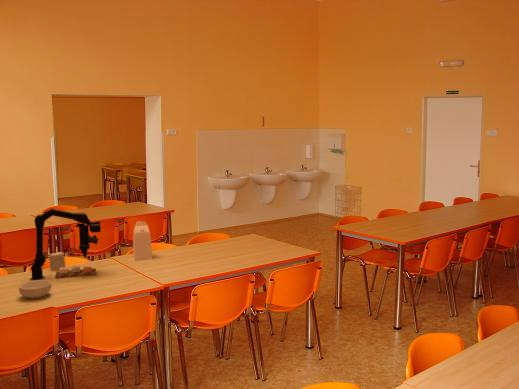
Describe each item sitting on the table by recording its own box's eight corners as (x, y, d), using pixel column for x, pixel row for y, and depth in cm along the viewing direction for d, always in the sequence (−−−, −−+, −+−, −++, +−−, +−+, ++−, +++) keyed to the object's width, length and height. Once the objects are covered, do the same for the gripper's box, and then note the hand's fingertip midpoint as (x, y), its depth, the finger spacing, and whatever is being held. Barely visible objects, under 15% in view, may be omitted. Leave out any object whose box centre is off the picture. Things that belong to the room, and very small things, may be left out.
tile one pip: (59, 273, 343) (59, 269, 343) (60, 271, 348) (59, 267, 347) (68, 272, 344) (67, 268, 344) (68, 270, 349) (68, 266, 349)
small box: (61, 267, 368) (59, 251, 367) (65, 268, 365) (64, 253, 363) (49, 269, 362) (48, 254, 361) (54, 271, 358) (53, 255, 357)
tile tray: (55, 278, 340) (55, 275, 340) (56, 274, 350) (56, 271, 350) (95, 275, 347) (95, 272, 346) (96, 271, 356) (95, 268, 356)
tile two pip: (71, 272, 345) (71, 268, 344) (71, 270, 350) (71, 266, 349) (79, 271, 346) (79, 267, 346) (80, 269, 351) (79, 265, 351)
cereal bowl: (12, 299, 302) (11, 287, 301) (34, 290, 317) (34, 278, 316) (37, 302, 296) (36, 289, 295) (58, 293, 311) (57, 281, 310)
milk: (150, 255, 396) (148, 219, 392) (152, 258, 385) (150, 222, 381) (133, 256, 392) (131, 221, 388) (135, 260, 381) (133, 223, 378)
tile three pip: (83, 273, 347) (83, 268, 346) (83, 271, 352) (83, 267, 351) (91, 272, 348) (91, 268, 348) (91, 270, 353) (91, 266, 353)
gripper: (97, 235, 340) (98, 259, 342) (97, 229, 357) (98, 253, 359) (78, 236, 337) (79, 261, 339) (79, 230, 354) (81, 254, 357)
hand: (85, 257), depth 348 cm, fingers closed
